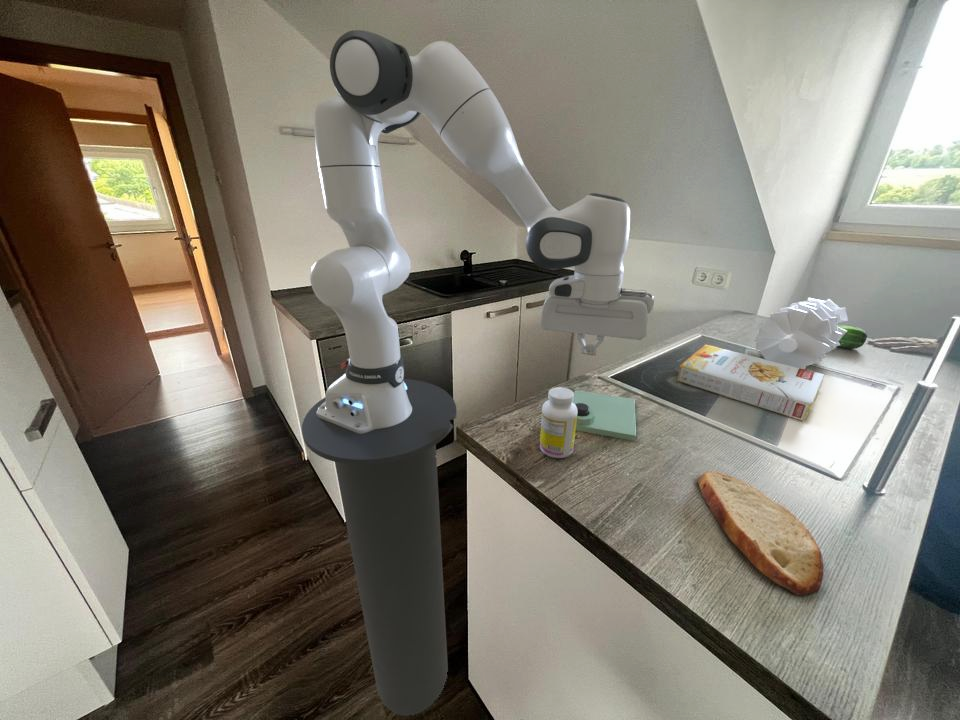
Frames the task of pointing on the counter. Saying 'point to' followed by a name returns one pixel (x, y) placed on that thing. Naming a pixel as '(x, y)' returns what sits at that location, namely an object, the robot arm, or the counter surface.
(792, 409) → the cereal box
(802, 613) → the counter surface
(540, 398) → the counter surface
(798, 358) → the spiral staircase
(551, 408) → the supplement bottle
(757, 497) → the bread slice
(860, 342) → the vegetable
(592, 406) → the scale
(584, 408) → the button
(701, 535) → the counter surface
